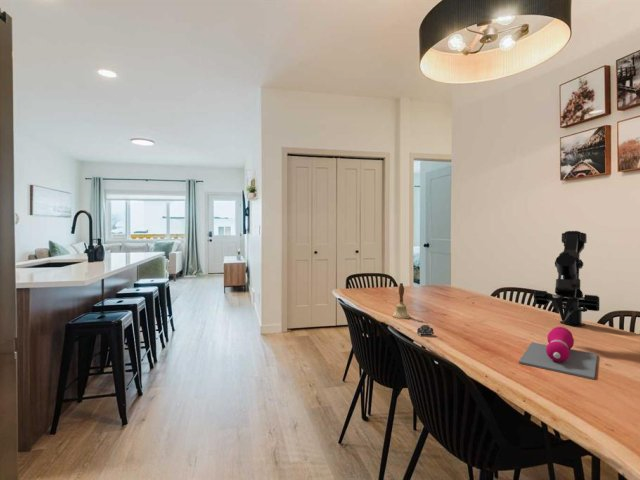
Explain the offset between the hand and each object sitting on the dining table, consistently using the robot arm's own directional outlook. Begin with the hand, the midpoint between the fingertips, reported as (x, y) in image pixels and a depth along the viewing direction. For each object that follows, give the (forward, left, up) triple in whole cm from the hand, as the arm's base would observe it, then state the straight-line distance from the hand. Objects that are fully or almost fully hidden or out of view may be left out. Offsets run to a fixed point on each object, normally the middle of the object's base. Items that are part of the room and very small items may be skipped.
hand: (563, 320), depth 116 cm
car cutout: (+31, -28, -10) cm, 43 cm away
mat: (+11, +6, -10) cm, 16 cm away
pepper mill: (+1, 0, -5) cm, 5 cm away
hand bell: (+27, -57, -10) cm, 64 cm away
